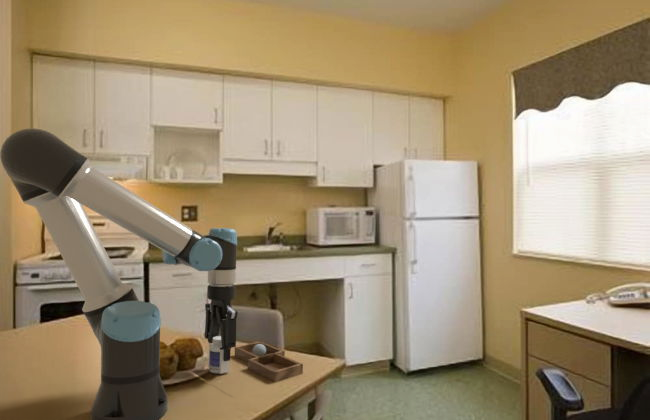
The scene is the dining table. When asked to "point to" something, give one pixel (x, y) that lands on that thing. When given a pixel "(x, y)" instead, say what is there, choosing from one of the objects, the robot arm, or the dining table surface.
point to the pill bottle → (215, 355)
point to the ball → (259, 350)
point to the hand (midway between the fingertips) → (218, 369)
